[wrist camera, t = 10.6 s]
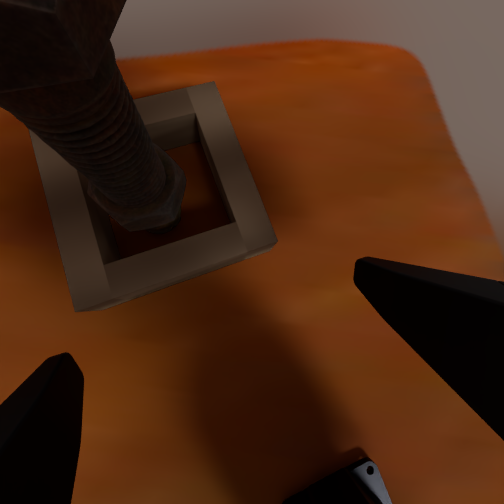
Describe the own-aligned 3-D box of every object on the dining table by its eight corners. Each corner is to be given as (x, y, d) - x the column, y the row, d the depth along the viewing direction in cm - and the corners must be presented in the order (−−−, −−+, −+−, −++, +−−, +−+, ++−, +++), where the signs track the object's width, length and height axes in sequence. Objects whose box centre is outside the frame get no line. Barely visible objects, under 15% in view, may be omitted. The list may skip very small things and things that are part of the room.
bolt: (127, 258, 17) (-422, 22, 3) (111, 192, 18) (-387, -283, 3) (209, 235, 18) (147, -33, 4) (190, 173, 19) (75, -264, 4)
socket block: (269, 250, 18) (277, 240, 15) (102, 310, 16) (75, 312, 14) (216, 113, 20) (214, 81, 17) (59, 152, 18) (27, 123, 15)
